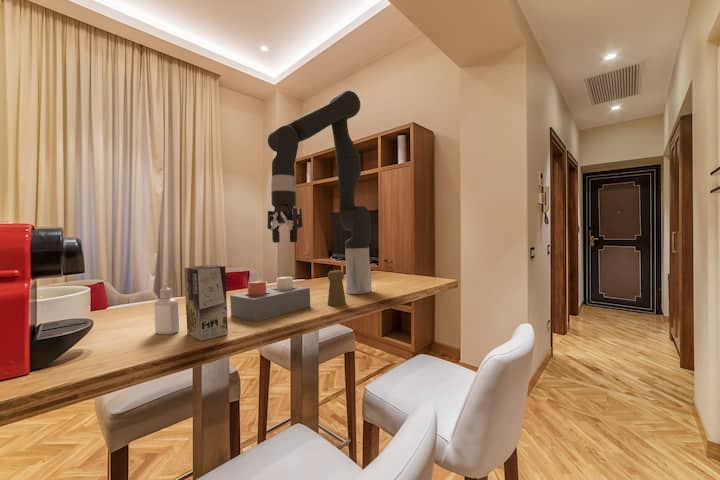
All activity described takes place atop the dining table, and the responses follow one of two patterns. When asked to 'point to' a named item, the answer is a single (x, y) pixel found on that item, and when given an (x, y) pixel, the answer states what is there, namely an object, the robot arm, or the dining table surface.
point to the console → (269, 303)
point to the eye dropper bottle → (166, 313)
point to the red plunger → (256, 288)
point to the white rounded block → (284, 283)
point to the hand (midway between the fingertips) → (284, 242)
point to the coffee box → (206, 301)
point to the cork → (336, 288)
